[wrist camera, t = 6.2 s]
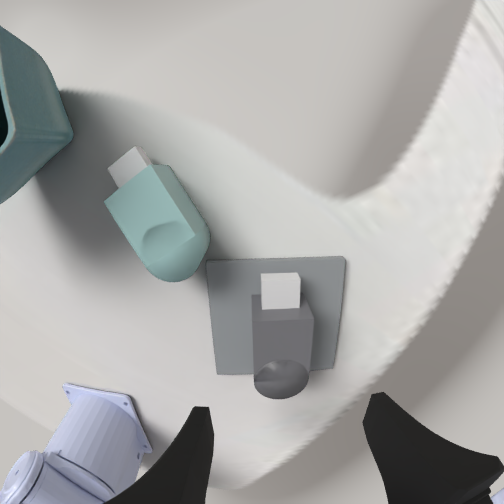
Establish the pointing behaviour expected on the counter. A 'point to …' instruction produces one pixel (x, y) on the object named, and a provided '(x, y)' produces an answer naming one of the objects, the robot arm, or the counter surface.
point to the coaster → (249, 283)
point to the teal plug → (157, 217)
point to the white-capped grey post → (281, 336)
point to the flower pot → (27, 115)
